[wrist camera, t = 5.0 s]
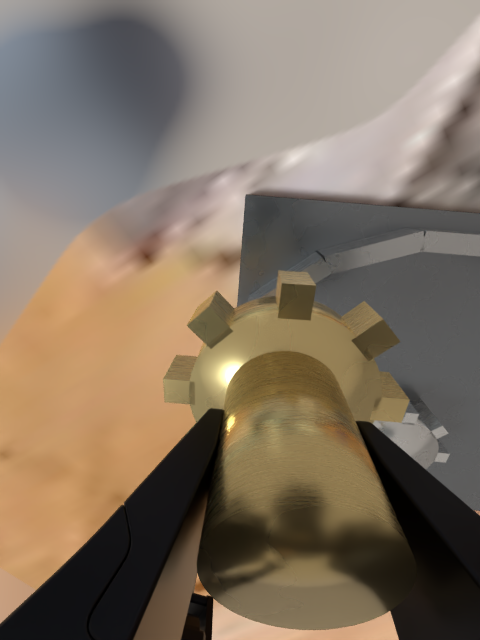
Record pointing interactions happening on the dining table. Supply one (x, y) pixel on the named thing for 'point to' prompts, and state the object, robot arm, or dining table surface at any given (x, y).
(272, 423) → the gear
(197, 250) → the dining table surface
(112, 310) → the dining table surface
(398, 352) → the carrier plate
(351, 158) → the dining table surface
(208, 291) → the dining table surface
